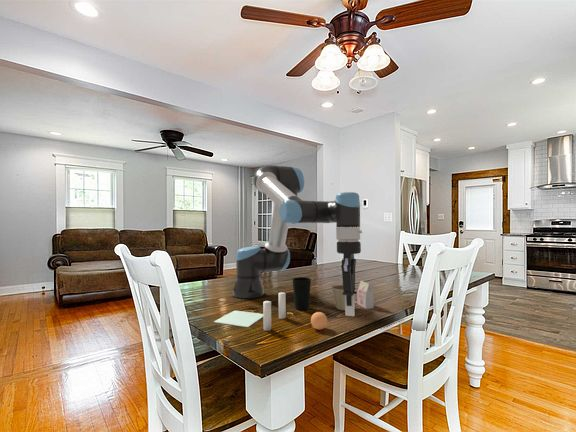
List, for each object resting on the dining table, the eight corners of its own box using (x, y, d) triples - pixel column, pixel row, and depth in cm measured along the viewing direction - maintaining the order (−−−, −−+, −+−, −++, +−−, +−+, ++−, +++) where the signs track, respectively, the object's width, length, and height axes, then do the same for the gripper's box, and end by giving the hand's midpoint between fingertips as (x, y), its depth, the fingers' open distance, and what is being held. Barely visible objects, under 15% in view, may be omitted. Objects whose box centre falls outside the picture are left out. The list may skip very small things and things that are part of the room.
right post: (280, 316, 108) (280, 292, 109) (286, 316, 107) (286, 292, 108) (277, 318, 106) (277, 293, 106) (284, 319, 105) (283, 294, 105)
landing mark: (234, 310, 115) (234, 310, 115) (266, 314, 110) (266, 314, 110) (213, 322, 102) (213, 321, 102) (247, 327, 97) (247, 326, 97)
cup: (309, 311, 114) (309, 281, 114) (291, 310, 115) (290, 280, 116) (312, 306, 121) (311, 277, 122) (294, 305, 123) (294, 276, 123)
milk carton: (364, 303, 124) (364, 280, 124) (373, 308, 118) (373, 283, 118) (357, 304, 123) (356, 281, 123) (365, 309, 117) (365, 284, 117)
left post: (265, 327, 97) (265, 300, 97) (272, 328, 96) (272, 301, 96) (262, 330, 94) (261, 302, 94) (269, 331, 93) (269, 303, 93)
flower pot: (330, 304, 123) (330, 284, 123) (352, 304, 122) (352, 284, 123) (333, 311, 113) (333, 289, 114) (357, 311, 113) (357, 289, 113)
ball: (313, 325, 98) (313, 309, 99) (329, 327, 96) (329, 310, 96) (308, 330, 93) (308, 313, 93) (325, 333, 91) (325, 315, 91)
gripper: (357, 242, 84) (359, 323, 84) (363, 239, 96) (364, 310, 96) (332, 241, 87) (333, 320, 86) (340, 239, 99) (342, 308, 98)
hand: (350, 315), depth 91 cm, fingers closed
